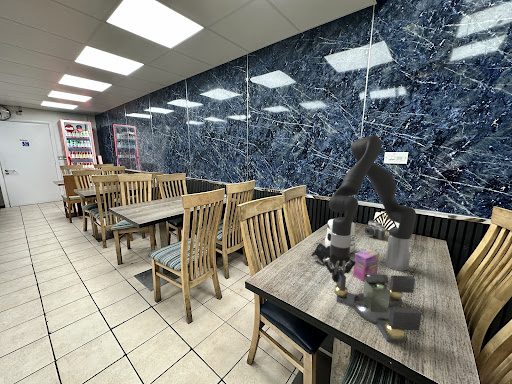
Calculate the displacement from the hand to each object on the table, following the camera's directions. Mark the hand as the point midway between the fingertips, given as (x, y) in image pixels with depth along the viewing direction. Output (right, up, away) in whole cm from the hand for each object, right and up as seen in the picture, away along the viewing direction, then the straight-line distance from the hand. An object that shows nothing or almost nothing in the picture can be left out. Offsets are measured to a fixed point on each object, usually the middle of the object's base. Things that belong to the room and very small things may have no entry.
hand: (337, 280), depth 85 cm
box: (+18, -3, +12) cm, 23 cm away
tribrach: (+10, -7, -12) cm, 17 cm away
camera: (+51, +6, +62) cm, 81 cm away
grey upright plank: (0, -3, -1) cm, 3 cm away
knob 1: (+23, -4, -5) cm, 24 cm away
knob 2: (+11, -7, -22) cm, 26 cm away
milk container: (+17, +2, +39) cm, 42 cm away
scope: (+2, -1, +24) cm, 25 cm away
